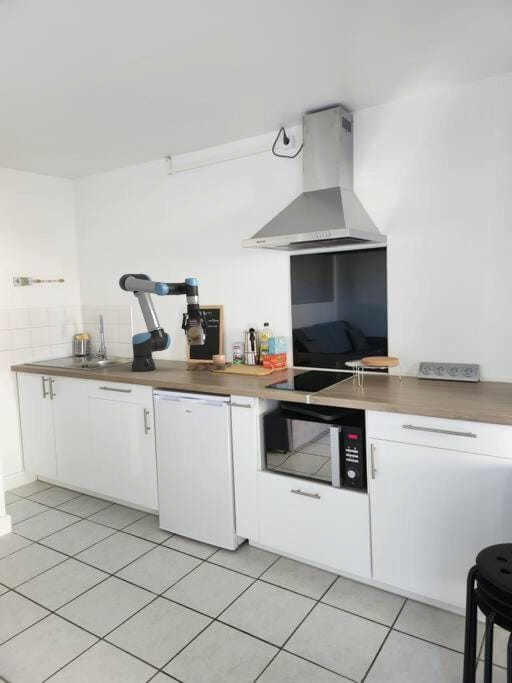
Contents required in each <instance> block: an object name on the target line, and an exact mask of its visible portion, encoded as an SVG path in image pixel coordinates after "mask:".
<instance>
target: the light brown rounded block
mask: <svg viewBox="0 0 512 683" xmlns="http://www.w3.org/2000/svg"><path fill="white" fill-rule="evenodd" d="M212 362H213V366H223V365H225V362H226V354H212Z"/></svg>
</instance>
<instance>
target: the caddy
mask: <svg viewBox="0 0 512 683" xmlns="http://www.w3.org/2000/svg"><path fill="white" fill-rule="evenodd" d="M231 366H232V367H233V362H232V361H231V362H230V361H229V362H227V361H225V365H223V366H213V361H212V362H210V361H209V362H205V361H204V362H194V363H192V364H190V365H188V368H187V369H188V371H226V369H227V368H229V367H231ZM232 367H231V368H232ZM229 369H230V368H229ZM227 370H228V369H227Z"/></svg>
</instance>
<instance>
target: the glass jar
mask: <svg viewBox="0 0 512 683" xmlns="http://www.w3.org/2000/svg"><path fill="white" fill-rule="evenodd" d="M201 321H202V322H203V319H202V317H200V318H195V319H188V318H186V323H187V337H188V341H187V346H198V345H199V346H200V345H204V344H205V339H204V340H202V330H201V329H202V327H201ZM203 323H204V322H203Z"/></svg>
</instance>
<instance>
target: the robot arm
mask: <svg viewBox="0 0 512 683" xmlns="http://www.w3.org/2000/svg"><path fill="white" fill-rule="evenodd" d="M118 286H119V288H120V289H121V290H123V292H131V293H132V294H133V295H134V297H135V298H136V299H137V301H138V304H139V307H140V310H141V313H142V317H143V320H144V323H145V326H146V330H147V331H145V332H139V333H135V334H134V335H132V337H131V339H132V340H131V343H132V344H131V345H132V355H133V356H132V357H133V360H132V364H131V368H130V369H131V372H135V371H141V372H149V370H151V371H154V370H156V369H157V368H156V363H155V361H154V358H153V353H155V352H162V351H166V350H167V349H169V348H170V345H171V341H172V340H171V335H170V334H169V333H167V332H166V331H165V329H164V328H163V327H161V324H160V321H159V318H158V315H157V312H156V308H155V307H154V306H155V305H154V303H153V300H152V297H151V294H154V295H155V294H156V296H159V297H160V296H161V297H165V296H182V295H183V296H184V295H185V296H186V297H185V298H186V310H187V311H186V312H183V313H182V322H181V330H184V335H185V337H186V338H185V339H186V341H187V342H188V337H187V323H186V319H195V318H202V320H203V322H202V321H201V327H202V329H201V330H202V340H204V341H205V340H206V334H207V328H209V323H208V321H207V317H206V312H205V311H201V310H200V298H199V284H198V279H197V278H196V277H188V278H185V279H184V282H162V281H153V280H152V278H151V277H150V276H149V275H148V274H145V273H125V274H123V275H122V276H121V277H119V280H118Z"/></svg>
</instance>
